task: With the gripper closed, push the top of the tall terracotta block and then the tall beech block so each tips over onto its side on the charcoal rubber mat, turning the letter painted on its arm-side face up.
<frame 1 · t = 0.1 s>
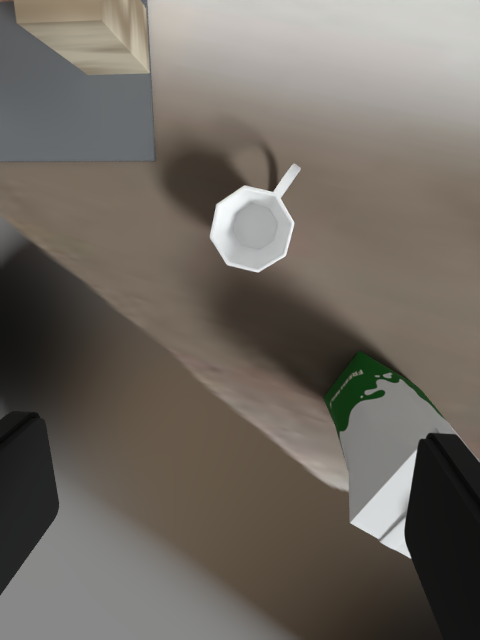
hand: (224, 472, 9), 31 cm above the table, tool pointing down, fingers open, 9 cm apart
rubber mat: (56, 46, 35), on the table
milk carton: (365, 388, 42), on the table
cup: (264, 214, 37), on the table
beech block: (116, 42, 34), resting on rubber mat
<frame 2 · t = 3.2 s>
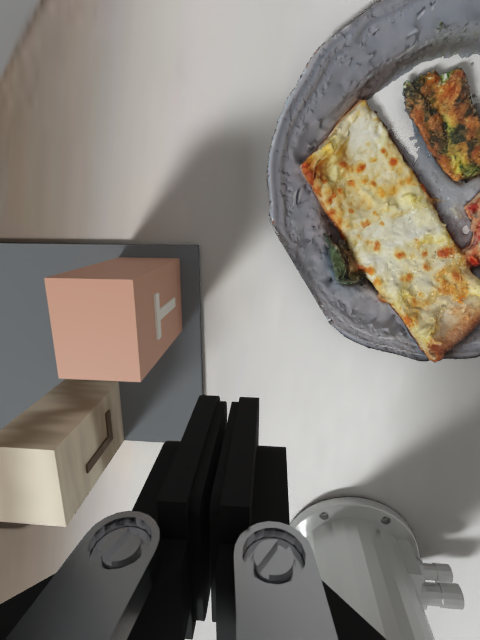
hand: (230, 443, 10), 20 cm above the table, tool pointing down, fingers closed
rubber mat: (90, 347, 33), on the table
food plate: (440, 192, 27), on the table
beech block: (95, 410, 34), resting on rubber mat
terracotta block: (151, 294, 30), resting on rubber mat
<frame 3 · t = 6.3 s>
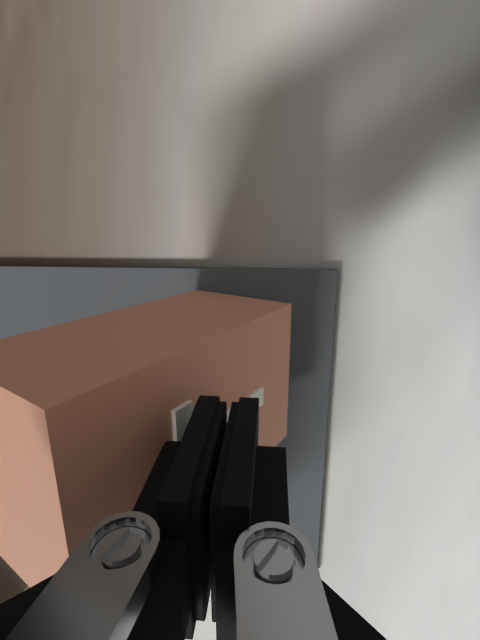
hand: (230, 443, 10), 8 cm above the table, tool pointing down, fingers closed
rubber mat: (140, 430, 20), on the table
terracotta block: (240, 360, 17), point 2 cm above the table, tilted 29°, touching rubber mat
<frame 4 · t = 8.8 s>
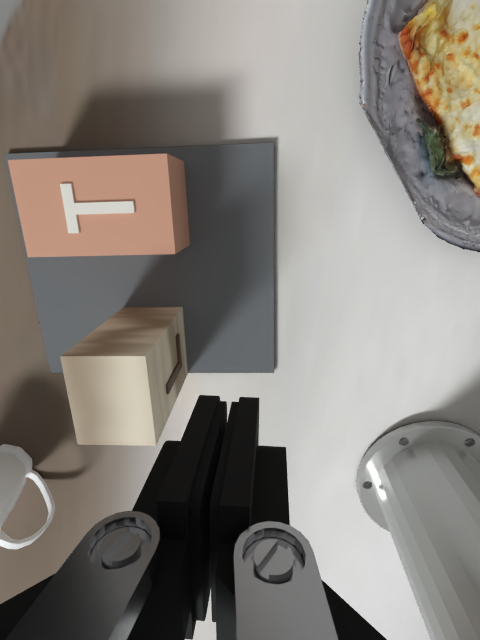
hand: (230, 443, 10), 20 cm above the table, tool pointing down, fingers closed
rubber mat: (150, 270, 30), on the table
cup: (27, 467, 37), on the table
beech block: (156, 340, 31), resting on rubber mat
terracotta block: (179, 205, 25), point 3 cm above the table, tilted 90°, touching rubber mat
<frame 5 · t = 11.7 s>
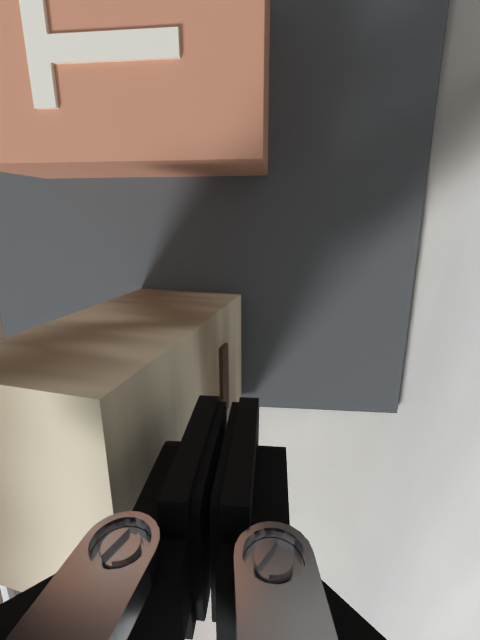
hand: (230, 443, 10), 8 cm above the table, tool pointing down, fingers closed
rubber mat: (191, 223, 17), on the table
beech block: (191, 352, 18), point 1 cm above the table, tilted 10°, touching rubber mat
terracotta block: (266, 73, 12), point 3 cm above the table, tilted 90°, touching rubber mat
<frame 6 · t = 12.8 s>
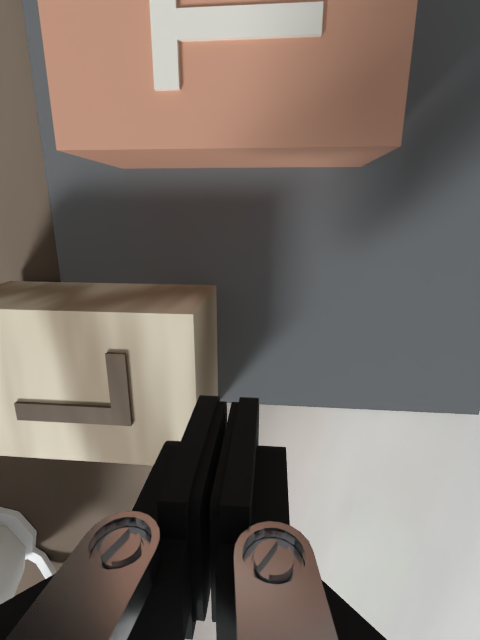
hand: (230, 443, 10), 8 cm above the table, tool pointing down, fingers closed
rubber mat: (273, 217, 16), on the table
cup: (27, 542, 23), on the table
beech block: (208, 367, 15), point 3 cm above the table, tilted 90°, touching rubber mat
terracotta block: (387, 56, 12), point 3 cm above the table, tilted 90°, touching rubber mat
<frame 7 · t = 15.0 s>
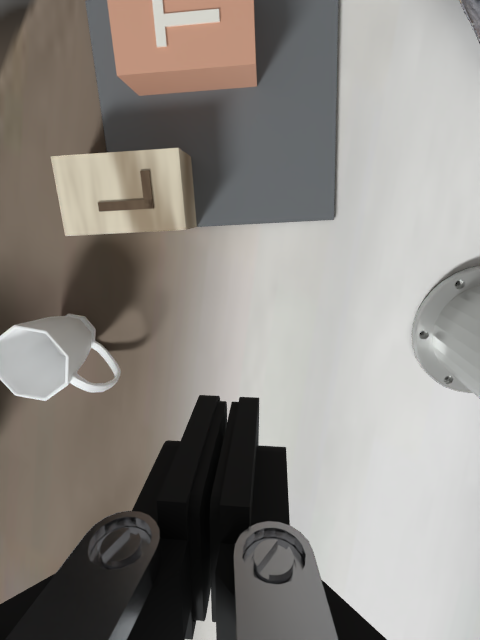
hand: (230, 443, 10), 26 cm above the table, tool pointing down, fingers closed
rubber mat: (217, 117, 32), on the table
cup: (89, 339, 39), on the table
beech block: (188, 191, 31), point 3 cm above the table, tilted 90°, touching rubber mat
terracotta block: (254, 29, 27), point 3 cm above the table, tilted 90°, touching rubber mat
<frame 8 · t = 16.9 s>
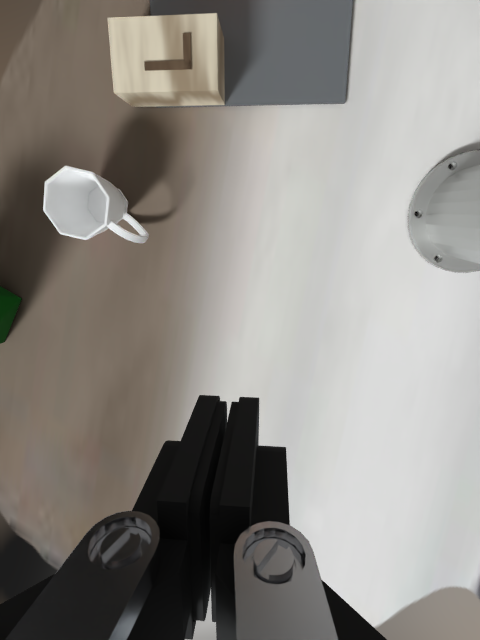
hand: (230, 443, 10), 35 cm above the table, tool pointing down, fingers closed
rubber mat: (249, 3, 37), on the table
cup: (122, 212, 44), on the table
beech block: (221, 63, 36), point 3 cm above the table, tilted 90°, touching rubber mat
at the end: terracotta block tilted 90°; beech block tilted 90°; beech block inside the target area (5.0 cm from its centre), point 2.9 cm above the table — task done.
